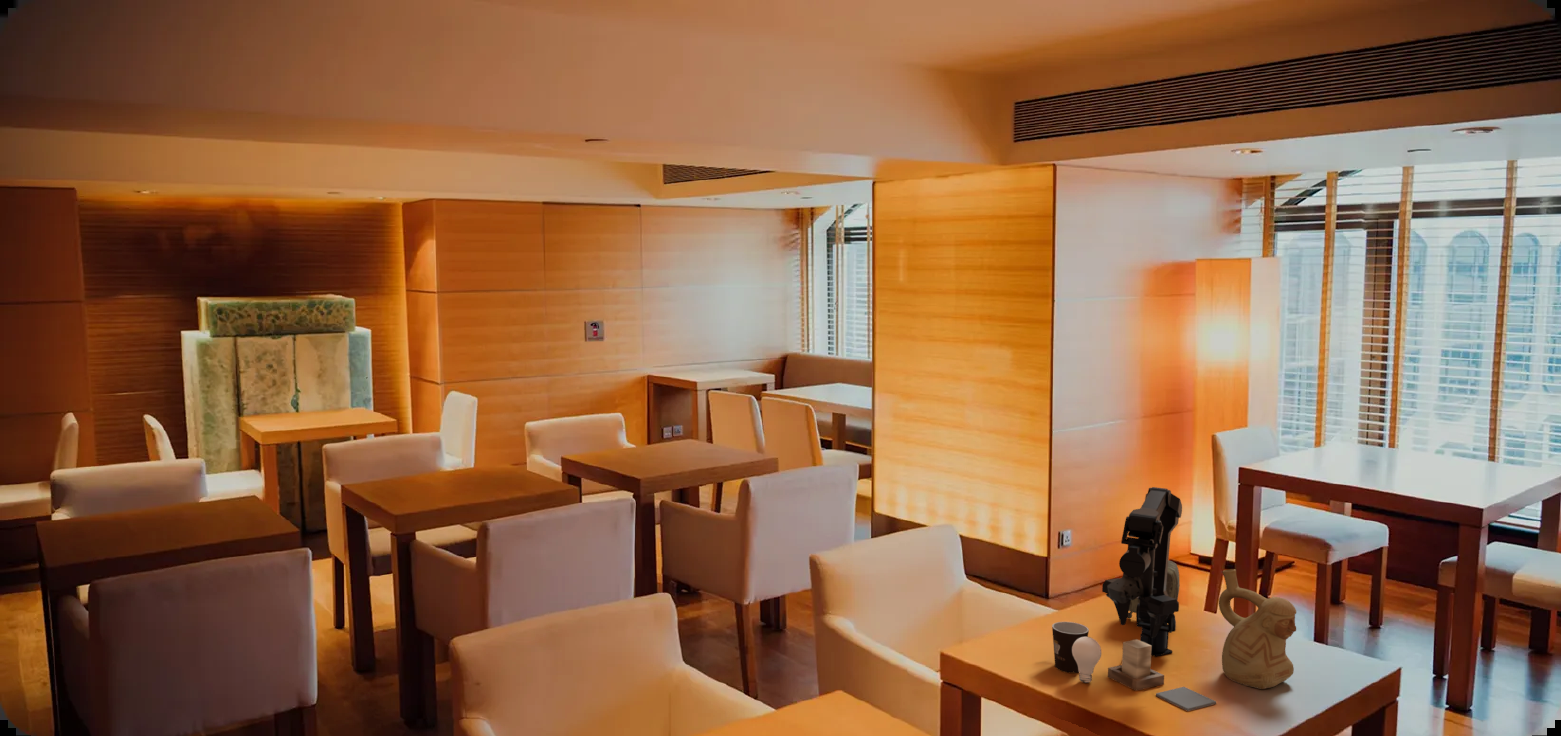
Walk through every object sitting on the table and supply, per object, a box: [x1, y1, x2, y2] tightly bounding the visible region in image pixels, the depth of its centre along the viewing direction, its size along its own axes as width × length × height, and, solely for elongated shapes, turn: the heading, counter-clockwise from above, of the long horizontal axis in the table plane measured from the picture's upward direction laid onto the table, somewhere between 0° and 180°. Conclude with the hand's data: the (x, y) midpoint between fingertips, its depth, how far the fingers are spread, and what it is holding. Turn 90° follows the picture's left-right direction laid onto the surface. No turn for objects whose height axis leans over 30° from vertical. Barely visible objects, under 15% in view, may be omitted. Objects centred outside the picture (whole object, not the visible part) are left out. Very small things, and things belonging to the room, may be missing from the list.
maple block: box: [1121, 638, 1152, 679], centre depth 241 cm, size 4×4×9 cm
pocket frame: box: [1107, 664, 1165, 691], centre depth 242 cm, size 9×9×2 cm
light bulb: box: [1072, 636, 1102, 684], centre depth 239 cm, size 7×7×11 cm
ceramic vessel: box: [1218, 568, 1297, 690], centre depth 243 cm, size 17×20×25 cm
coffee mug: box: [1051, 621, 1090, 674], centre depth 250 cm, size 12×9×10 cm
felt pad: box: [1155, 686, 1217, 712], centre depth 231 cm, size 9×9×1 cm
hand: (1137, 630), depth 241 cm, fingers open, 9 cm apart
